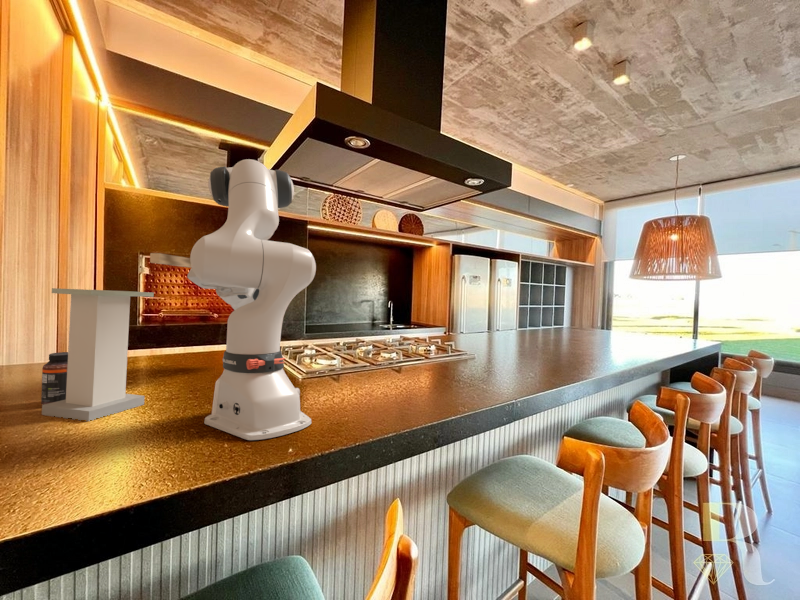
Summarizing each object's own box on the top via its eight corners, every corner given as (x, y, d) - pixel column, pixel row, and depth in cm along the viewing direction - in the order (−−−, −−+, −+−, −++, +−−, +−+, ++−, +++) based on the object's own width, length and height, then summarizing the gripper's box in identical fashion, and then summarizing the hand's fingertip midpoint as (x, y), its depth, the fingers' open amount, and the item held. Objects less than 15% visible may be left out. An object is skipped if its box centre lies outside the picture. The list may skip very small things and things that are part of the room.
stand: (110, 396, 85) (116, 290, 85) (151, 402, 83) (157, 292, 83) (41, 414, 72) (48, 288, 72) (88, 421, 69) (95, 290, 69)
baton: (212, 270, 110) (212, 263, 110) (220, 270, 110) (220, 263, 110) (150, 262, 89) (150, 253, 89) (159, 262, 88) (159, 253, 88)
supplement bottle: (76, 397, 83) (79, 350, 83) (77, 404, 79) (80, 354, 79) (41, 402, 79) (43, 352, 79) (40, 408, 75) (42, 356, 75)
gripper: (208, 279, 121) (180, 254, 109) (261, 281, 117) (238, 256, 105) (200, 295, 118) (171, 271, 106) (254, 297, 114) (230, 273, 102)
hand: (205, 263), depth 105 cm, fingers closed on baton, 3 cm apart
